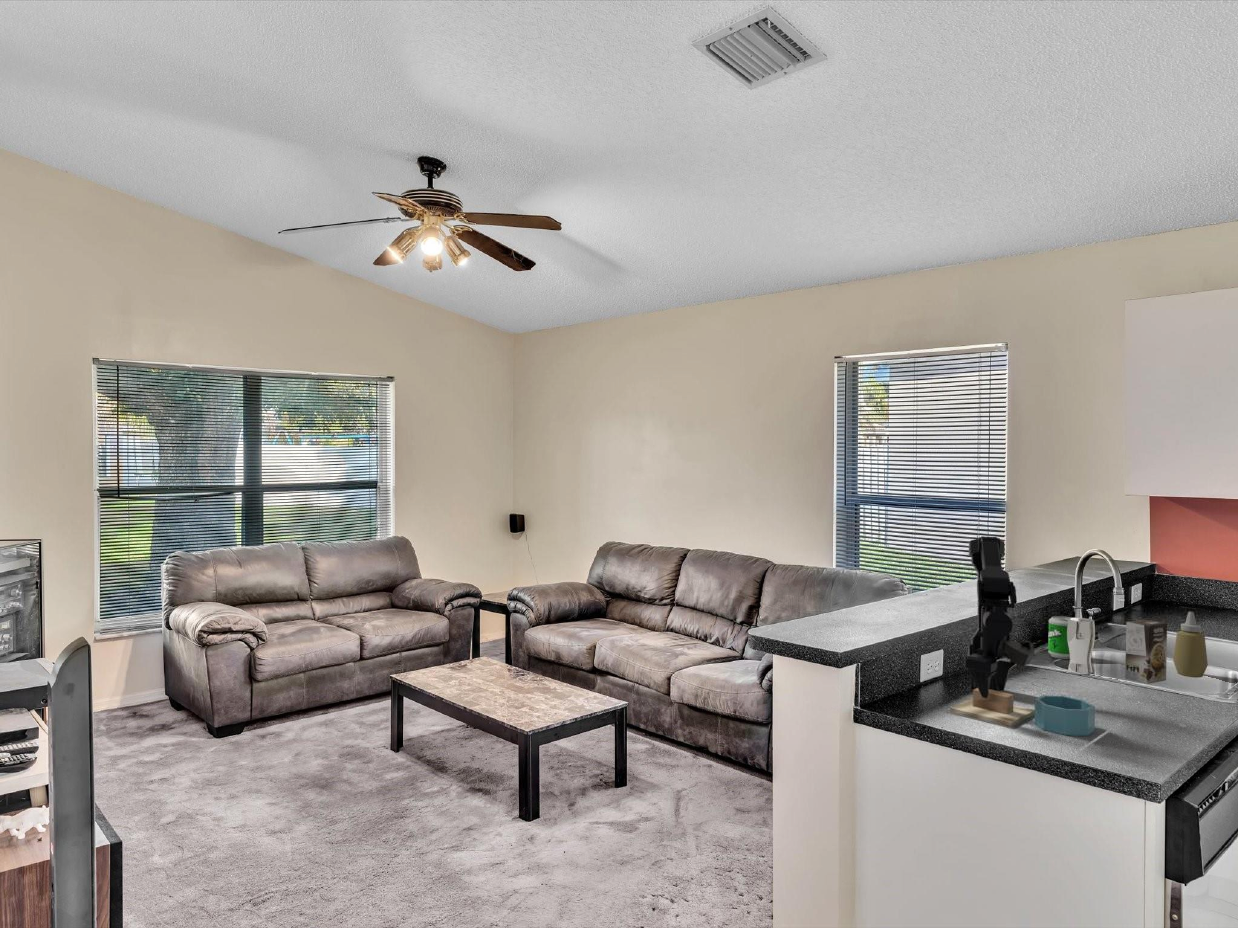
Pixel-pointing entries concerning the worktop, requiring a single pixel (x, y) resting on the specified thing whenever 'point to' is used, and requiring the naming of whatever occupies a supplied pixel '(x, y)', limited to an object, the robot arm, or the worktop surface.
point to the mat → (996, 723)
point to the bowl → (1065, 715)
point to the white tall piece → (1080, 644)
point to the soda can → (1058, 637)
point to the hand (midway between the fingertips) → (993, 693)
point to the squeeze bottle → (1190, 649)
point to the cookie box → (1146, 651)
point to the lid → (994, 708)
